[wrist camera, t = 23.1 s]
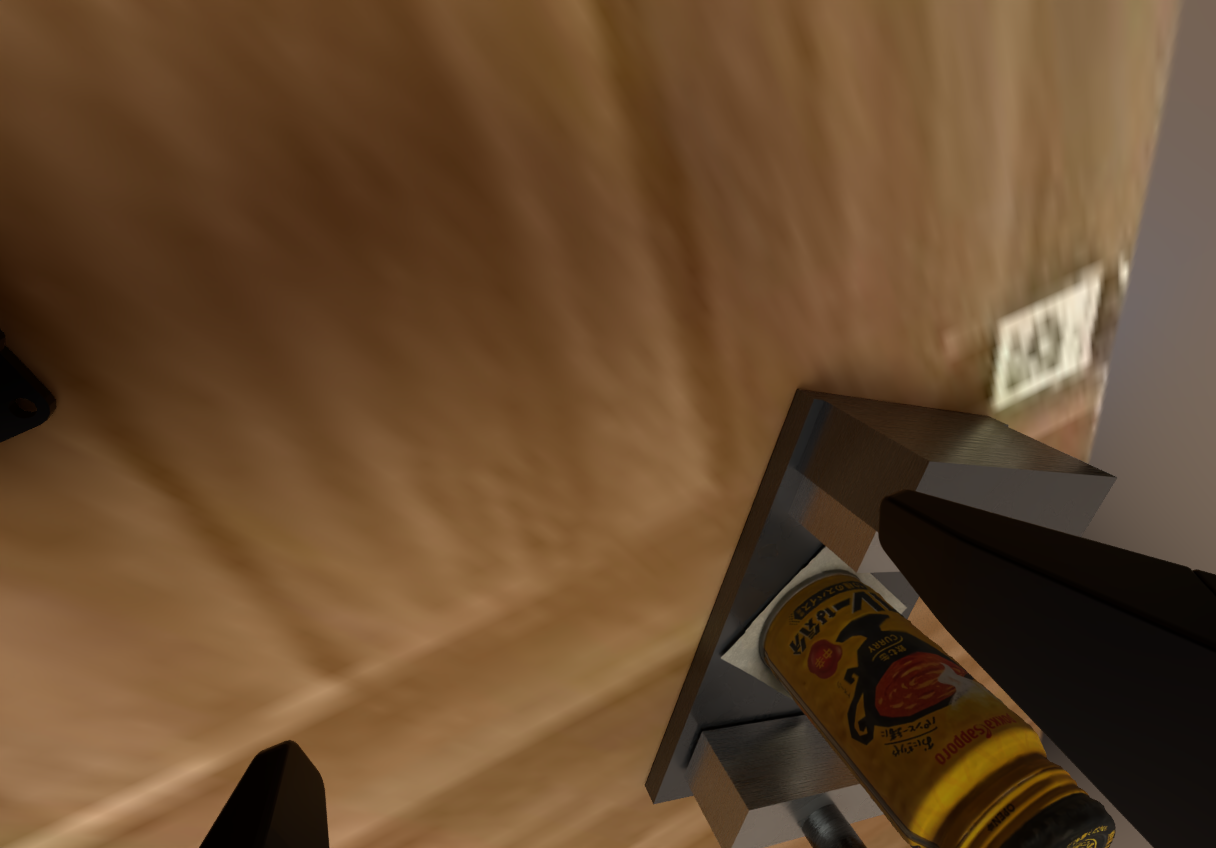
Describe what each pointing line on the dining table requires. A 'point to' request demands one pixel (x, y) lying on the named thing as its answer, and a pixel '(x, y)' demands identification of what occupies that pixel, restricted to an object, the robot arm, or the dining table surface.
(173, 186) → the dining table surface
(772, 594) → the vise
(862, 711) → the condiment
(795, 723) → the sliding jaw
